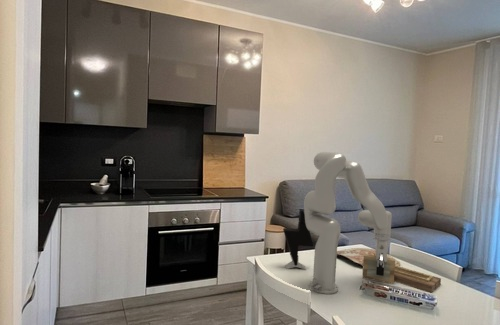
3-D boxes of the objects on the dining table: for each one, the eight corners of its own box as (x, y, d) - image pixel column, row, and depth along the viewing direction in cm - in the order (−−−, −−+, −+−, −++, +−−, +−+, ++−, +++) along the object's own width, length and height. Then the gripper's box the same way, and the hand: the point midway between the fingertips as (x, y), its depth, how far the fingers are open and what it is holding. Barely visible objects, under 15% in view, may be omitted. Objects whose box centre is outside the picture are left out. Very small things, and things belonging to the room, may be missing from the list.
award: (309, 266, 174) (313, 209, 173) (312, 269, 169) (315, 211, 167) (281, 265, 174) (284, 208, 172) (282, 268, 168) (285, 210, 167)
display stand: (431, 292, 148) (431, 284, 148) (378, 276, 165) (378, 268, 164) (440, 284, 158) (441, 276, 158) (389, 269, 174) (390, 262, 174)
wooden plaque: (393, 284, 156) (395, 261, 155) (362, 278, 161) (363, 255, 161) (393, 281, 159) (395, 258, 158) (362, 275, 165) (364, 253, 164)
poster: (359, 277, 171) (404, 270, 182) (360, 265, 170) (405, 259, 181) (328, 255, 197) (368, 250, 208) (328, 245, 196) (369, 240, 207)
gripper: (391, 242, 150) (389, 279, 151) (389, 233, 166) (386, 267, 167) (373, 239, 152) (371, 276, 153) (373, 231, 169) (371, 264, 170)
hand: (379, 271), depth 160 cm, fingers open, 8 cm apart
